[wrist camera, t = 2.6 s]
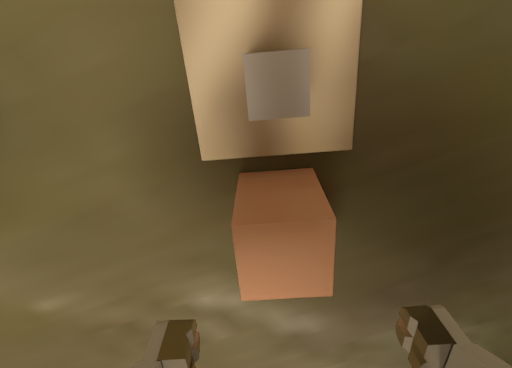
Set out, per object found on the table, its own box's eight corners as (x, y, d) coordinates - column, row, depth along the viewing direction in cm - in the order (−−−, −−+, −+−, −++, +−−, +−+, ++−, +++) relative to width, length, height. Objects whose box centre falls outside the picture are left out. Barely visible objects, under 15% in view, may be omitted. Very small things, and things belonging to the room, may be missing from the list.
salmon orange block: (312, 167, 20) (336, 218, 14) (312, 229, 22) (332, 295, 16) (239, 173, 20) (230, 225, 14) (246, 233, 22) (241, 300, 16)
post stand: (361, -36, 15) (426, -91, 9) (349, 146, 19) (388, 188, 13) (173, -17, 15) (121, -58, 9) (203, 157, 19) (180, 202, 14)
